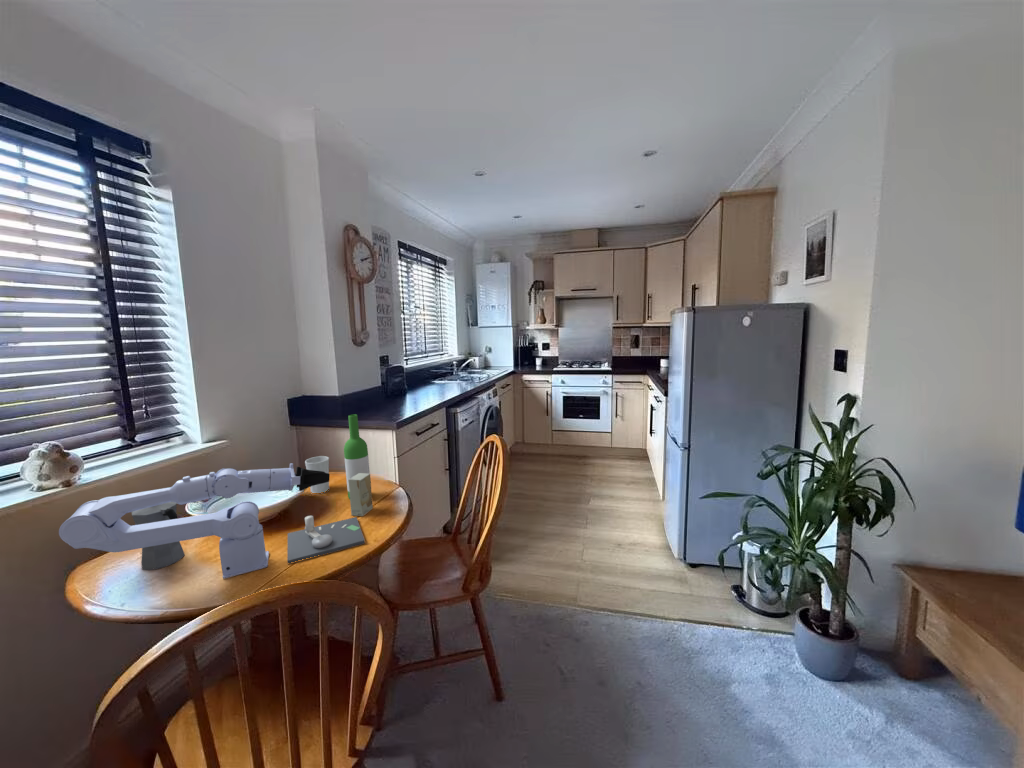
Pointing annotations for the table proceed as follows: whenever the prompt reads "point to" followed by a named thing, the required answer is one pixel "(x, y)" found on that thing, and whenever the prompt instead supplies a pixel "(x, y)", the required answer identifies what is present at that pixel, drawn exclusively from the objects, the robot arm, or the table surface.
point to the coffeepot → (166, 552)
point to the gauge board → (341, 532)
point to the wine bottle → (355, 452)
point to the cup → (318, 465)
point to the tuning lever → (316, 534)
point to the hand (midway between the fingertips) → (327, 476)
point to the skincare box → (360, 494)
